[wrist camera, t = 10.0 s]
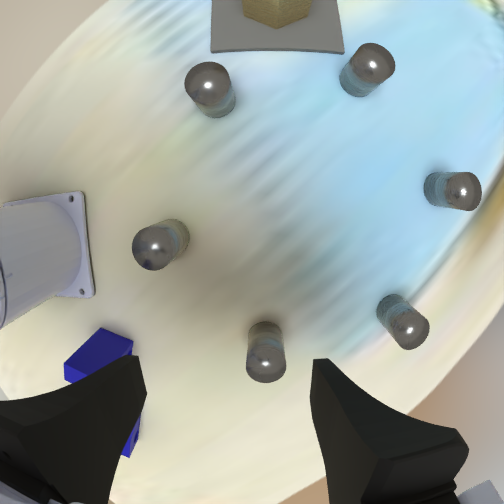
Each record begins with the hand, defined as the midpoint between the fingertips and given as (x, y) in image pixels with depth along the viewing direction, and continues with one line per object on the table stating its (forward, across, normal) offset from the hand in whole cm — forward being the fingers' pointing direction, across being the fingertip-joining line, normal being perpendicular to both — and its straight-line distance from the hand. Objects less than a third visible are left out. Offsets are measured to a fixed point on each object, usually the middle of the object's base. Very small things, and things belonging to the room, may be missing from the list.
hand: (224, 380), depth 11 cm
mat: (+9, -3, -22) cm, 24 cm away
